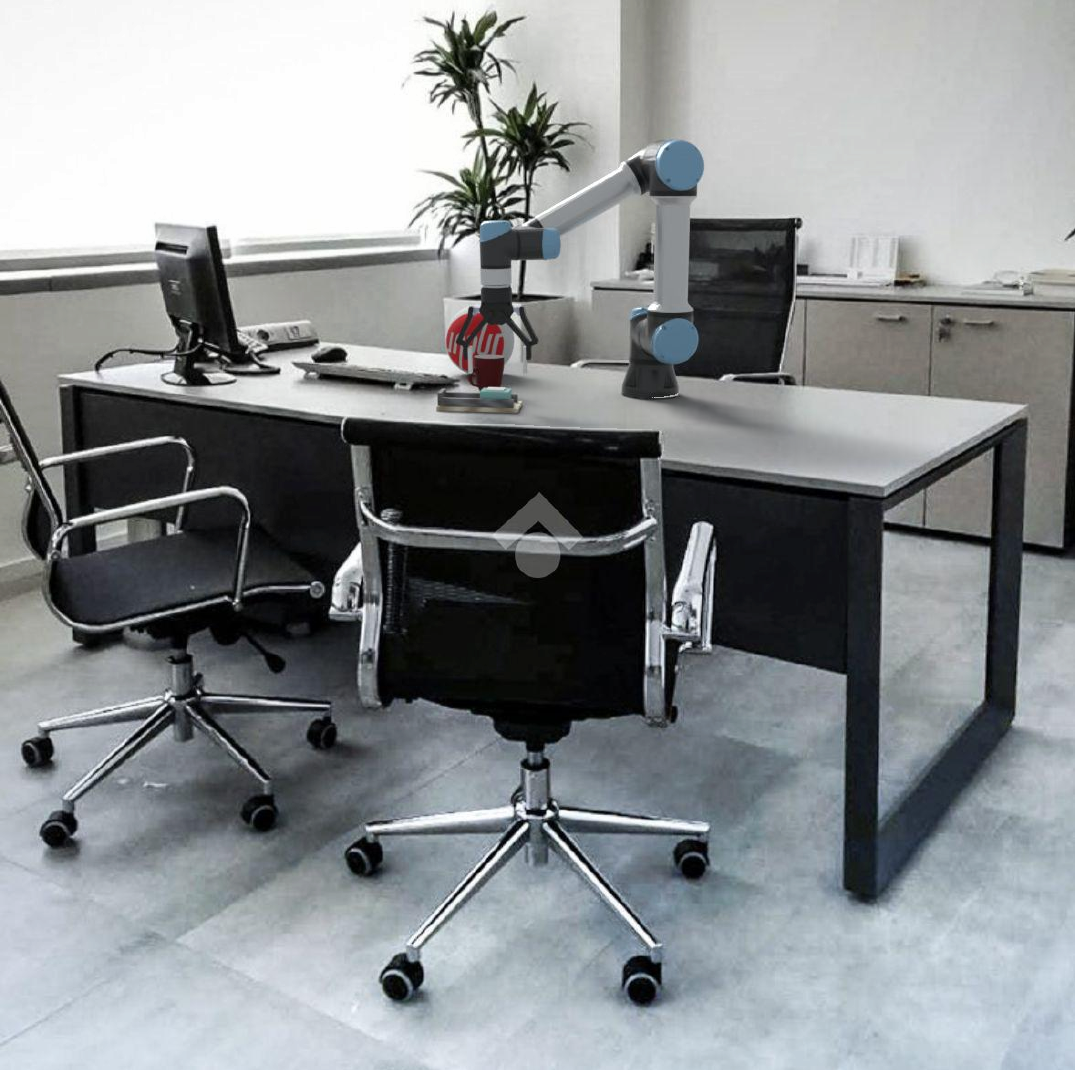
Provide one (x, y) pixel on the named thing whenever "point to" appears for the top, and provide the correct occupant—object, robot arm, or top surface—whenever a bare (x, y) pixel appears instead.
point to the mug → (487, 371)
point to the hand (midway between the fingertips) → (497, 373)
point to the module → (496, 393)
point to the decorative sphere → (478, 339)
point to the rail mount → (475, 403)
